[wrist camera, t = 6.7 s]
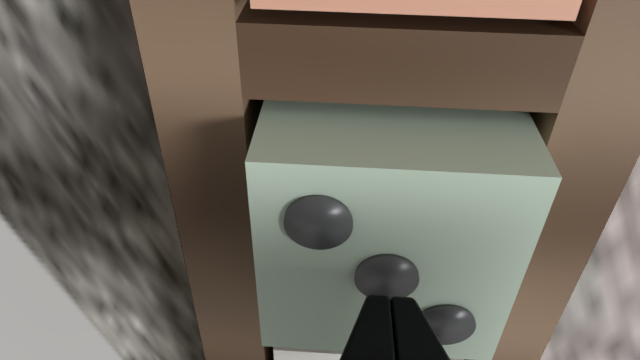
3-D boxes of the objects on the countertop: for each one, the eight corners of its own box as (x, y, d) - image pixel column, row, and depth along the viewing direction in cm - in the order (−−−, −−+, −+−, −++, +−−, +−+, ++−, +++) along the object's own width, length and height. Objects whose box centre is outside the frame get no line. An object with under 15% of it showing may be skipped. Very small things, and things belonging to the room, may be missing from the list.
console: (471, 386, 20) (486, 468, 17) (240, 371, 20) (224, 449, 18) (827, -590, 6) (1114, -821, 4) (105, -583, 7) (-39, -789, 4)
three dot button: (471, 273, 13) (492, 365, 11) (276, 262, 13) (261, 350, 11) (522, 99, 10) (564, 181, 8) (267, 88, 10) (243, 165, 8)
